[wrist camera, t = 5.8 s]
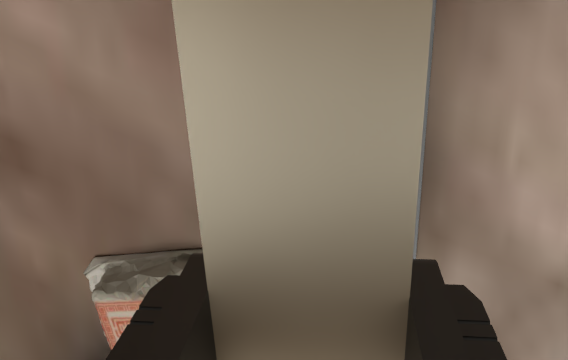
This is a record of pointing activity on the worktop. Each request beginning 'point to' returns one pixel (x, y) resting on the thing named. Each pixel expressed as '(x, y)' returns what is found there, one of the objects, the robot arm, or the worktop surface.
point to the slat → (306, 170)
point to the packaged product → (128, 284)
